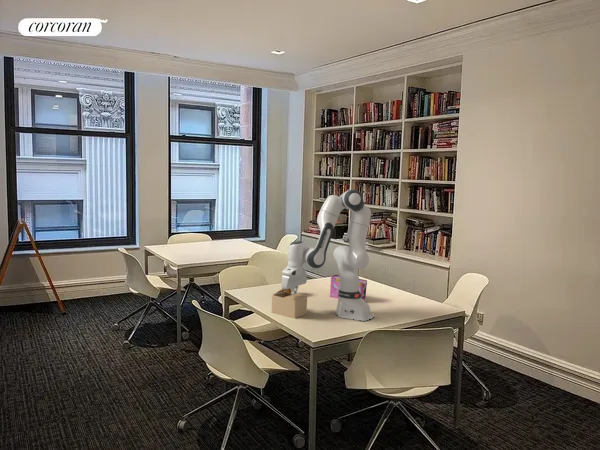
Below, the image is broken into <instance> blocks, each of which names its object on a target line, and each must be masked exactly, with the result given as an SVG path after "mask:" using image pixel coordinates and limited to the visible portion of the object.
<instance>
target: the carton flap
mask: <svg viewBox="0 0 600 450" xmlns="http://www.w3.org/2000/svg"><path fill="white" fill-rule="evenodd" d="M286 290H288V289H284V288H282V287H281V288H280V289H279V290H277V291H275V292H274V293H272V295H275V294H279V293H282V292H285V291H286ZM272 295H271V296H272Z"/></svg>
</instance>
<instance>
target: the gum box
mask: <svg viewBox="0 0 600 450" xmlns="http://www.w3.org/2000/svg"><path fill="white" fill-rule="evenodd" d="M367 285H368V280H366V279H364V278H359V292H360V293H362V295H361V298H362V299H363V300H364V301H365V300H366V299H367V287H368V286H367ZM329 286H330V291H329V292H330V293H329V297H330V298H335V299H339V298H338V291H339V287H340V274H335V275H331V276H330V285H329ZM365 302H366V301H365Z"/></svg>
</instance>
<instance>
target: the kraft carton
mask: <svg viewBox="0 0 600 450" xmlns="http://www.w3.org/2000/svg"><path fill="white" fill-rule="evenodd" d="M307 308H308V296H307V295H305V294H300V293H296V294H291V293H289V292H285V291H284V292H281V293H278V294H275V295H271V314H277V315H280V316H283V317H284V316H285V317H287V318H291V319H297V318H299V317H303V316H304V315H307Z"/></svg>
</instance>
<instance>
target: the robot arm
mask: <svg viewBox="0 0 600 450" xmlns="http://www.w3.org/2000/svg"><path fill="white" fill-rule="evenodd" d="M344 210H350V212H351V217H350V220H349V223H348V229H347V233H346V237H347V238H348V244H349V245H338V246H337V247H335V249H334V250H333V259H334V260H335V261H336V265H337V267H338V272H339V274H338V275H340V287H339V291H338V298H337V299H338V300H337V306H336V310H335V312H334V313H335V315H337V317H338V318H342V319H348V320H353V319H354V320H353V321H359V320H361V322H367V321H366V320H368V321H370V320H369V319H371V320H372V318H373V317H374V318H375V315H374V313H372V312H371V306H370V304H369V303H367V302H366V301H364V300H363V299H362V298H361V295H362V293H360V292H359V279H360V277H359V274H358V273H357V270H358V269H359V270H362V269H365V268H367V266H368V264H369V263H370V257H369V254H368V253H367V252H368V251H367V248H366V247H367V246H366V245H367V243H366V241H367V235H368V231H369V227H370V222H371V215H372V211H371V209H370V207H368V206H366V205H365V200H364V197H363V195H362V193H361V192H360V191H359V190H357V189H349V190H346V191H345V192H343V193H341V194H340V195H339V196H338V195H336V194H330V195H328V196H327V198H326V199H325V201H324V202H323V204H322V206H321V207H320V210H319V212H318V214H317V217H316V222H317V225H318V227H319V230H320V234H319V237H318V239H317V243H316V244H315V247H313V246H310V245H308V244H306V243H304V242H303V241H301V240H296V241H293V242H291V243H290V244H288V245H289V246H288V252H287V259H288V261H287V266H286V267H284V269H282V271H281V274H282V275H281V289H282V288H284V289H289V288H290V289H291V294H298V293H297V292H298V289H299V286H302V285H305V284H307V279H308V278H307V277H308V276H307V271H306V268H305V267H304V264H307V265H308V266H310V267H311V268H312V269H319V268H321V267H323V266H324V265H325V263H326V261H327V260H326V259H327V251H328V248H329V245H330V242H331V239H332V237H333V233H334V231H335V230H334V229H335V226H336V223H337V221H338V220H339V219H338V218H339V216H340V213H341V212H342V211H344ZM356 269H357V270H356ZM374 318H373V319H374Z"/></svg>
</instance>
